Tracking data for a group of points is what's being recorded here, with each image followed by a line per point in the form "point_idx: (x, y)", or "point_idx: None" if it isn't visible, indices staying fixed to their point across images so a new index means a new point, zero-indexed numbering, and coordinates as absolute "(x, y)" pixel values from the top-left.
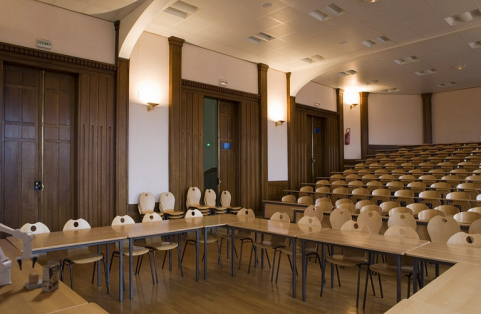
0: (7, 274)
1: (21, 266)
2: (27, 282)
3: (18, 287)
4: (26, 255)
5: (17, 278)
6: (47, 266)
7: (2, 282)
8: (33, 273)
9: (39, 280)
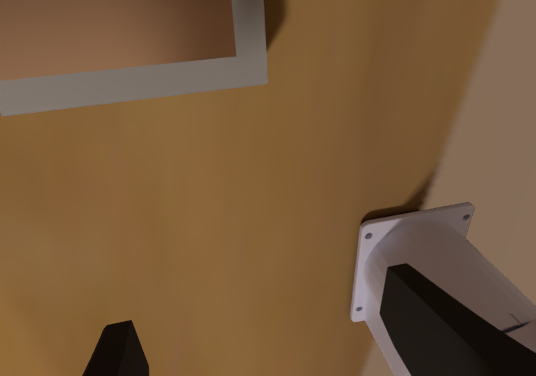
0: (469, 301)
1: (467, 336)
2: None
3: (339, 30)
4: None
5: (284, 338)
6: None
7: (454, 231)
8: (106, 31)
9: None
